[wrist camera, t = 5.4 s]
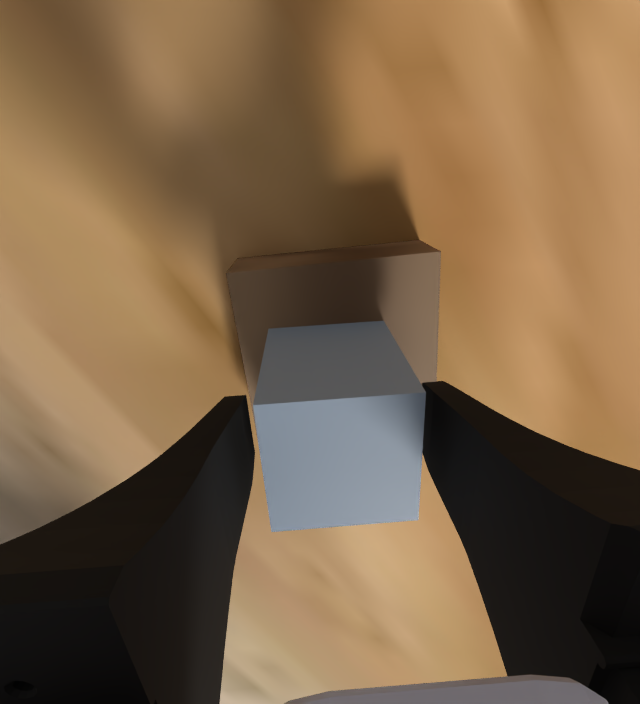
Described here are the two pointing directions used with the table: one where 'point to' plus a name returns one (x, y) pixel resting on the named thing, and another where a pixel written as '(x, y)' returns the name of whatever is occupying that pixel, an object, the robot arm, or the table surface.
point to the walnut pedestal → (340, 297)
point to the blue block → (338, 427)
